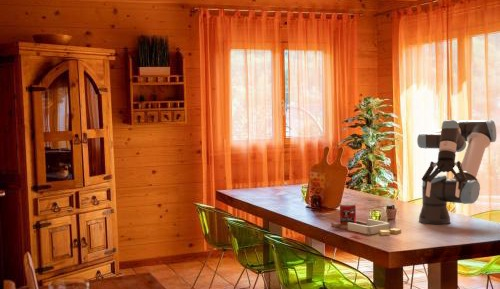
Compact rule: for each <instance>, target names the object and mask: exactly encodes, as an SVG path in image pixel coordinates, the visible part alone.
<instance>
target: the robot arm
mask: <svg viewBox="0 0 500 289" xmlns="http://www.w3.org/2000/svg"><path fill="white" fill-rule="evenodd" d="M416 139H417V141H416V143H417V146H418V147H419V148H420V149H438V154H437V155H438V156H437V162H434V161H430V163H429V167H428V168H427V169H426V171H425V173H424V175H423V176H422V177H421V180H422V184H421V185H422V186H421V188H422V189H421V191H422V194H421V195H422V206H421V210H420V213H419V216H418V222H420V223H422V224H427V225H429V224H430V225H445V224H449V223H451V217H450V213H449V209H448V205H447V203H455V204H456V203H457V204H463V205H467V204H469V205H473V204H474V203H476V202H477V200H478V198H479V196H480V190H481V185H480V182H479V181H478V178H477V177H478V176H477V175H478V173H479V170H480V166H481V163H482V159H483V157H484V154H485V151H486V149H487V148H488V147H490V145H491V143H495V142H496V141H497V127H496V123H495V121H494V120H492V119H463V120H462V119H461V120H457V121H456V120H453V119H446V120H443V121H442V123H441V128H440V129H436V130H435V131H431V132H421V133H419V134H418V135H417V138H416ZM467 143H468V145H467ZM465 149H466V150H465ZM464 150H465V152H464V156H463V159H462V162H461V161H460V160H457V161H456V156H457V155H456V153H460V152H462V151H464ZM455 167H457V169H458V172H456V170H454V168H455ZM450 172H451V174H453V177H452V178H448V177H447V175H444V174H443V175H442V174H441V175H439V174H440V173H450Z"/></svg>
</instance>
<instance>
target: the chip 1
mask: <svg viewBox="0 0 500 289" xmlns="http://www.w3.org/2000/svg"><path fill="white" fill-rule="evenodd" d="M379 234H380V236H390V234H391V233H390V231H389V230H380V233H379Z"/></svg>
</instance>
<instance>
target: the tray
mask: <svg viewBox="0 0 500 289" xmlns="http://www.w3.org/2000/svg"><path fill="white" fill-rule="evenodd" d="M366 221H367V226H365V225H360V224H355V223H351V222H348V230H347V231H351V232H357V233H361V234H365V235H373V234H374V235H375V234H380V230H389V229H392V223H390V222H387V221H382V220H376V219H371V218H368V219H366Z"/></svg>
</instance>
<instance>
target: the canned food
mask: <svg viewBox="0 0 500 289" xmlns="http://www.w3.org/2000/svg"><path fill="white" fill-rule="evenodd" d="M356 207H357V206H356V203H355V202H350V201H349V202H341V203H339V224H342V225H347V226H348V222H351V223H355V224H356V220H357V219H356V211H357V210H356Z"/></svg>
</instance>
